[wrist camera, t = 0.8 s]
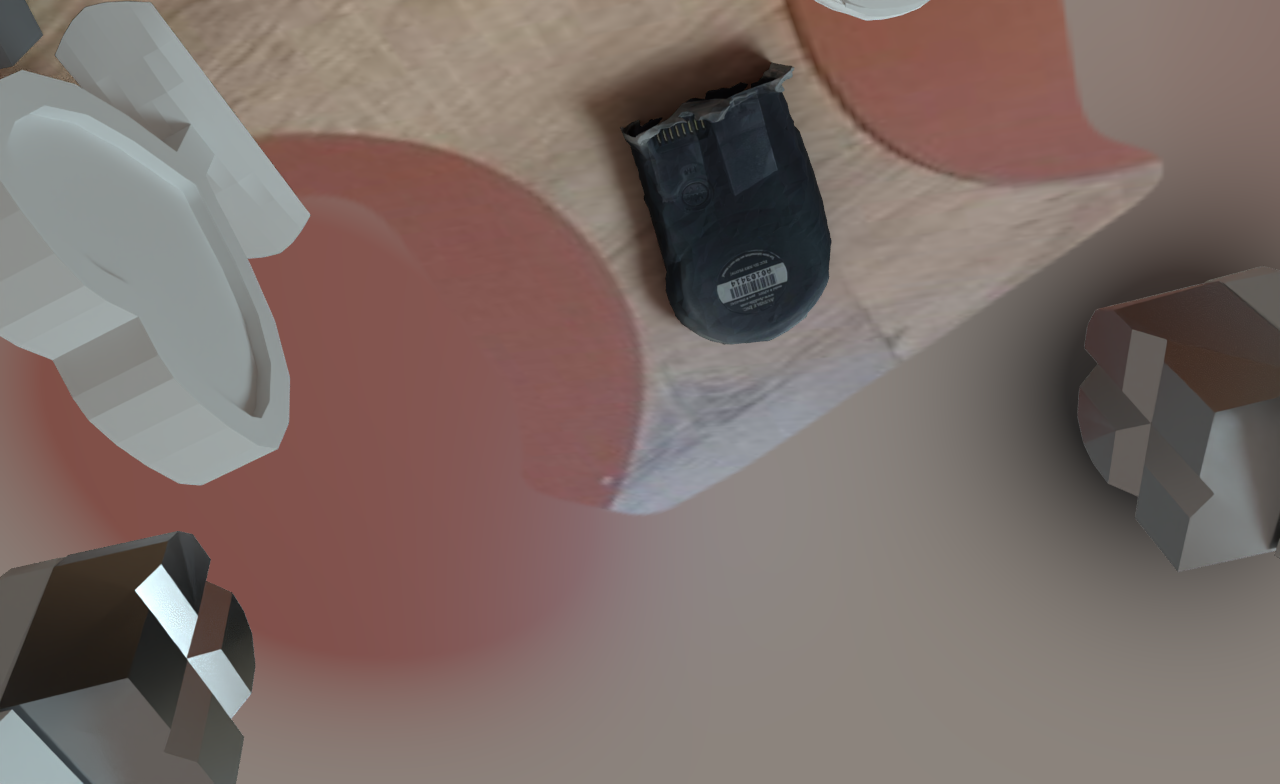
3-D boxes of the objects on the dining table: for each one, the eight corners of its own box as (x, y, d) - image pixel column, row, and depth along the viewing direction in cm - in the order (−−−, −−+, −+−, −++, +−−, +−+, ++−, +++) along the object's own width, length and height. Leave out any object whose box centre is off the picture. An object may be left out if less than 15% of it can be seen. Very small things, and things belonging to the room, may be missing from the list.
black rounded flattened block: (595, 116, 52) (687, 357, 60) (619, 139, 47) (715, 399, 55) (761, 45, 53) (831, 293, 60) (801, 61, 48) (872, 328, 55)
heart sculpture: (333, 246, 52) (294, 476, 38) (250, 288, 53) (181, 530, 39) (118, -42, 43) (-41, 121, 29) (20, 14, 44) (-183, 199, 29)
